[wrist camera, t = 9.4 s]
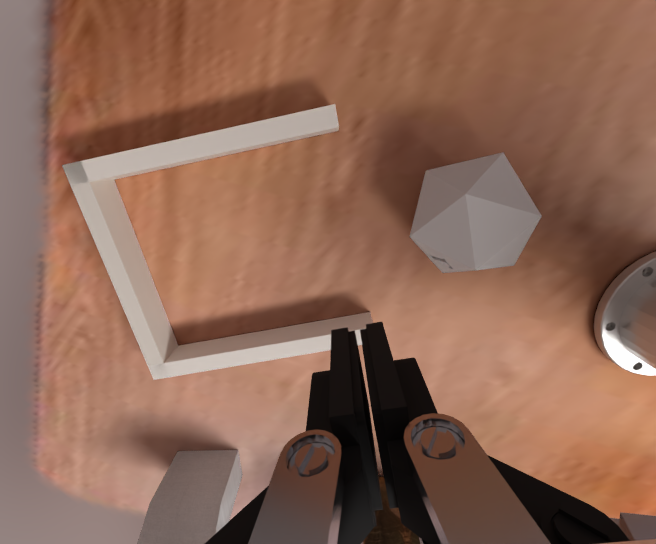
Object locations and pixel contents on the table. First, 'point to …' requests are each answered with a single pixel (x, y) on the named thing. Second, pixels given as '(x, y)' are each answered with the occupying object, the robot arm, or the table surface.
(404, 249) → the table surface
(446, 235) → the die
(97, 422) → the table surface
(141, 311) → the bay
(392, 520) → the shell
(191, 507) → the grey faceted angular block
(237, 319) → the table surface
